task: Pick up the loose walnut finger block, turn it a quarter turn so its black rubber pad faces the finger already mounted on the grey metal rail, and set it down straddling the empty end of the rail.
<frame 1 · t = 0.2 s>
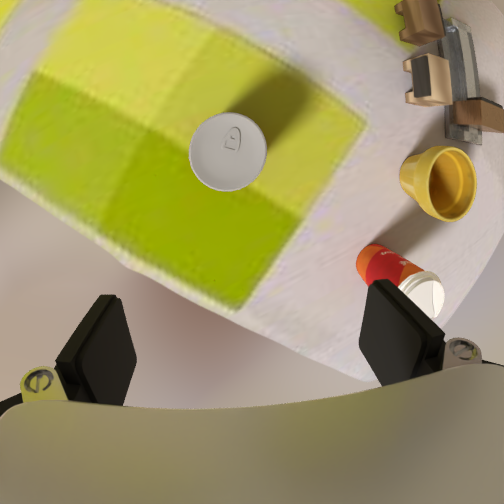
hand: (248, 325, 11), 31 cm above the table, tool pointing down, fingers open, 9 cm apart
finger: (407, 25, 32), on the table
tan notched block: (414, 84, 35), on the table
canned food: (227, 150, 38), on the table
coffee cup: (371, 260, 45), on the table
plant pot: (414, 175, 41), on the table
rail: (459, 79, 35), on the table
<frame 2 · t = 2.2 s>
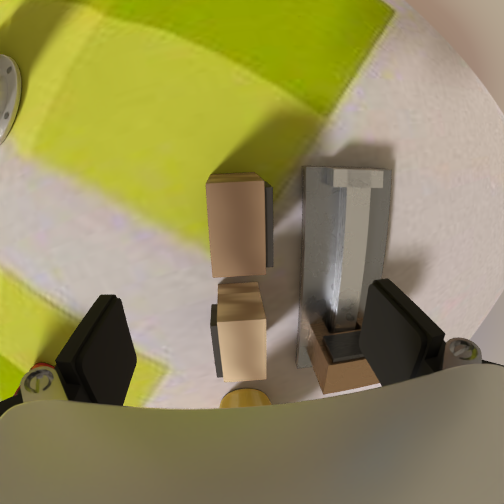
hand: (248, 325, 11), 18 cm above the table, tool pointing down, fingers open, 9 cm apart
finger: (234, 210, 28), on the table
tan notched block: (239, 312, 32), on the table
plant pot: (245, 401, 37), on the table
rail: (340, 275, 31), on the table
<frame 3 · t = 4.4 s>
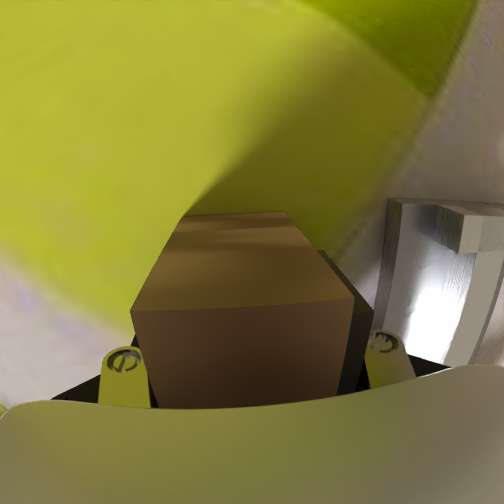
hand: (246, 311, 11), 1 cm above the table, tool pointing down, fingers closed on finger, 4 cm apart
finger: (237, 294, 13), on the table, touching gripper
rail: (413, 376, 16), on the table
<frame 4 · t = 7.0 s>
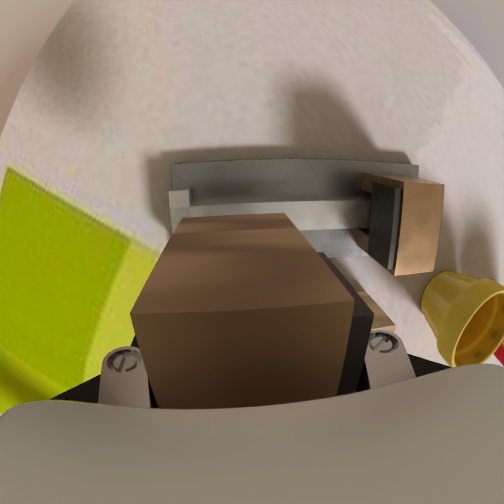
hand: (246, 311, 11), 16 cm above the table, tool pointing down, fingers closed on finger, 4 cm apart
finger: (237, 295, 13), point 14 cm above the table, touching gripper
tan notched block: (333, 310, 31), on the table
coffee cup: (486, 321, 35), on the table
plant pot: (438, 293, 32), on the table
rail: (305, 208, 27), on the table
when the fingers open (4 cm above the table, at t = 9.6 s): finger drops 1 cm, resting on rail.
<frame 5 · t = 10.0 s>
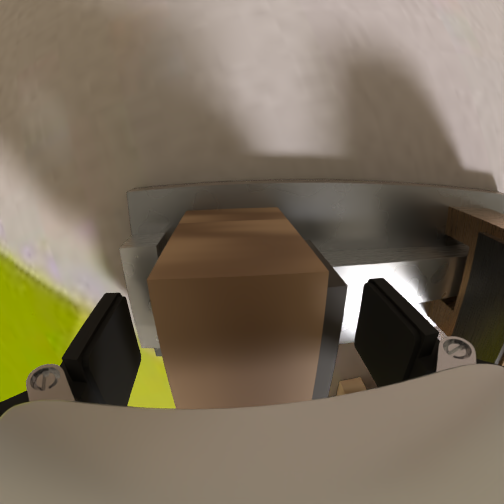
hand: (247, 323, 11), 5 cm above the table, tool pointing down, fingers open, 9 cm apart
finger: (234, 281, 14), point 1 cm above the table, touching rail
tan notched block: (376, 390, 20), on the table
rail: (359, 262, 16), on the table
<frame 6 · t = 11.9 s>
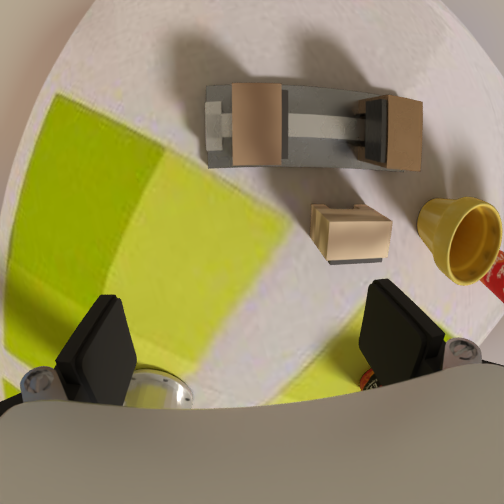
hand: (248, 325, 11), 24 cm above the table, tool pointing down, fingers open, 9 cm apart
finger: (251, 125, 29), point 1 cm above the table, touching rail
tan notched block: (338, 220, 35), on the table
canned food: (378, 376, 47), on the table
coffee cup: (482, 260, 39), on the table
plant pot: (433, 220, 36), on the table
rail: (313, 126, 30), on the table
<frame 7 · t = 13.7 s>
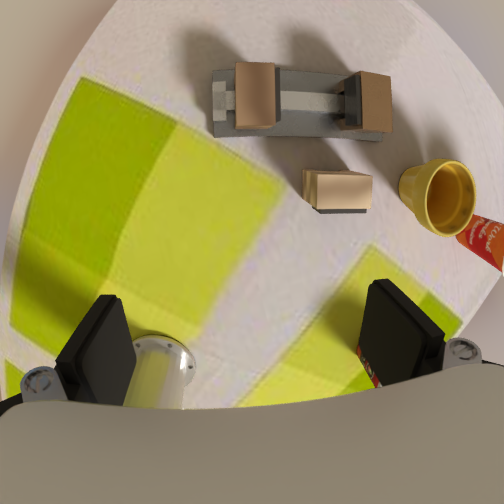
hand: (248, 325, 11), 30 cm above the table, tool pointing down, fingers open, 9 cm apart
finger: (250, 102, 34), point 1 cm above the table, touching rail
tan notched block: (326, 184, 39), on the table
canned food: (374, 343, 51), on the table
coffee cup: (465, 228, 44), on the table
plant pot: (413, 186, 41), on the table
rail: (301, 104, 35), on the table
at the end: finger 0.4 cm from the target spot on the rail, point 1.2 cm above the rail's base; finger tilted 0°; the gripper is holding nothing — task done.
